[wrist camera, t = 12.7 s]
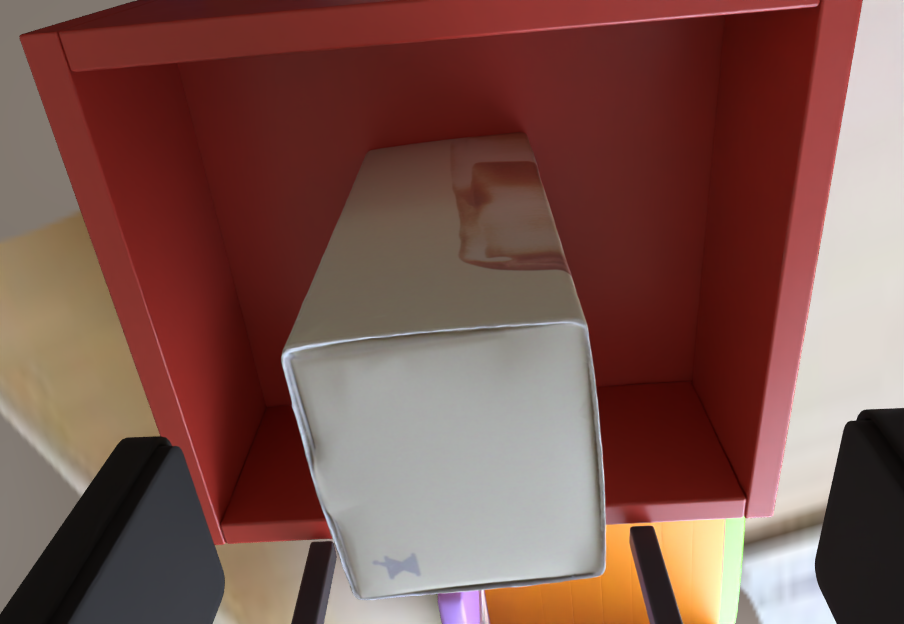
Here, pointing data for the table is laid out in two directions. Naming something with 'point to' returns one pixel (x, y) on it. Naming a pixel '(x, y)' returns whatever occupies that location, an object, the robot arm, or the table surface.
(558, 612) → the miniature room corner
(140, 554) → the robot arm
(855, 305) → the table surface
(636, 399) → the cart
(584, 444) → the white carton box
